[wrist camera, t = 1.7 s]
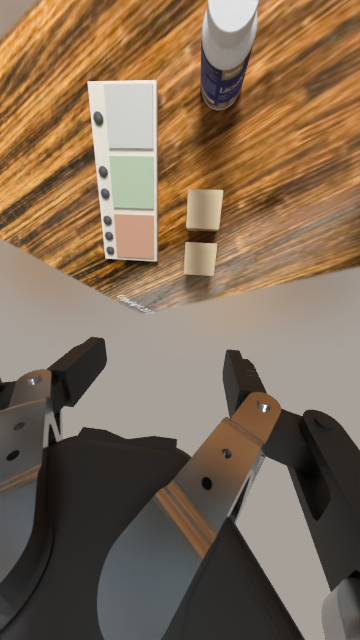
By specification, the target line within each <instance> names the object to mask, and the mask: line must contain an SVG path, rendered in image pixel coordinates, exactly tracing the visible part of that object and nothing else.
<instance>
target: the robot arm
mask: <svg viewBox="0 0 360 640" xmlns="http://www.w3.org/2000/svg"><path fill="white" fill-rule="evenodd" d="M105 348H106V347H105V340H104V339H103V338H97V337H91V338H89V339H88V340H87V341H86V342H84V343H83V344H80V345H78V346H76V347H74V348H73V349H71V350H70V351H69V352H68V353H66V354H65V355H64V356H63V357H61V358H60V359H59V360H58V361H56V362H55V363H54V364H53V365H51V366H50V367H49V368H47V369H40V370H35V371H32V372H29V373H27V374H25V375H23V376H22V377H20V378H19V379H18V380H17V381H13V382H5V383H2V381H1V379H0V640H305V639H304V638H303V636H302V634H301V632H300V631H299V629H298V627H297V626H296V624H295V622H294V621H293V619H292V618H291V616H290V614H289V612H288V611H287V609H286V607H285V606H284V604H283V602H282V601H281V599H280V598H279V596H278V594H277V593H276V591H275V589H274V588H273V586H272V585H271V583H270V581H269V580H268V578H267V576H266V574H265V573H264V571H263V569H262V568H261V566H260V565H259V563H258V561H257V559H256V558H255V556H254V555H253V553H252V551H251V550H250V548H249V547H248V545H247V543H246V541H245V540H244V538H243V536H242V535H241V533H240V531H239V530H238V528H237V527H236V525H235V524H236V522H237V519H238V517H239V515H240V513H241V510H242V508H243V506H244V504H245V501H246V499H247V496H248V493H249V491H250V489H251V487H252V484H253V482H254V480H255V478H256V476H257V474H258V472H259V469H260V467H261V465H262V463H263V461H264V459H265V456H267V457H269V458H271V459H273V460H275V461H278V462H280V463H282V464H285V465H287V467H288V470H289V473H290V476H291V479H292V481H293V484H294V487H295V490H296V493H297V496H298V499H299V502H300V504H301V507H302V510H303V513H304V516H305V519H306V522H307V524H308V527H309V530H310V533H311V536H312V539H313V542H314V544H315V547H316V550H317V553H318V556H319V558H320V562H321V565H322V567H323V570H324V573H325V576H326V579H327V582H328V584H329V588H330V590H331V593H330V594H329V595H328V596H327V597H326V598H325V600H324V602H323V605H322V624H323V629H324V633H325V639H326V640H360V450H359V449H358V447H357V446H356V445H355V443H354V442H353V441H352V440H351V438H350V437H349V435H348V434H347V433H346V431H345V430H344V428H343V427H342V426H341V425H340V424H339V423H338V422H337V421H336V420H335V419H333V418H332V417H331V416H329V415H327V414H325V413H323V412H320V411H317V410H307V411H305V412H304V414H303V416H300V415H297V414H294V413H291V412H288V411H286V410H283V409H281V406H280V404H279V403H278V402H277V400H275V399H274V398H273V397H271V396H270V395H268V394H267V393H266V390H265V388H264V386H263V384H262V382H261V380H260V378H259V375H258V373H257V372H256V369H255V367H254V365H253V364H252V363H251V362H250V361H249V360H248V359H242V356H241V353H240V351H238V350H227V351H226V355H225V361H224V368H223V383H224V389H225V394H226V400H227V405H228V411H229V416H230V419H229V418H228V417H225V418H224V419H223V420H222V421H221V422H220V424H219V425H218V426H217V427H216V428H215V430H214V431H213V432H212V433H211V434H210V436H209V437H208V438H207V439H206V440H205V442H204V443H203V444H202V445H201V446H200V448H199V449H198V450H197V451H196V453H195V454H194V455H193V456H192V457H190V456H189V455H188V454H187V453H185V452H184V451H182V450H180V449H178V448H176V445H177V439H172V438H164V437H156V436H150V437H143V438H134V439H125V438H122V437H120V436H118V435H115V434H113V433H111V432H109V431H107V430H101V429H94V428H86V427H83V428H82V430H81V432H80V433H79V434H78V436H73V437H69V438H66V439H63V438H62V437H63V435H62V412H61V409H62V408H63V406H69V407H74V405H75V404H76V403H77V402H78V400H79V399H80V398H81V397H82V395H83V394H84V393H85V392H86V390H87V389H88V388H89V387H90V385H91V384H92V383H93V381H94V380H95V379H96V377H97V376H98V375H99V374H100V373H101V371H102V370H103V369H104V367H105V365H106V362H107V356H106V349H105Z"/></svg>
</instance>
